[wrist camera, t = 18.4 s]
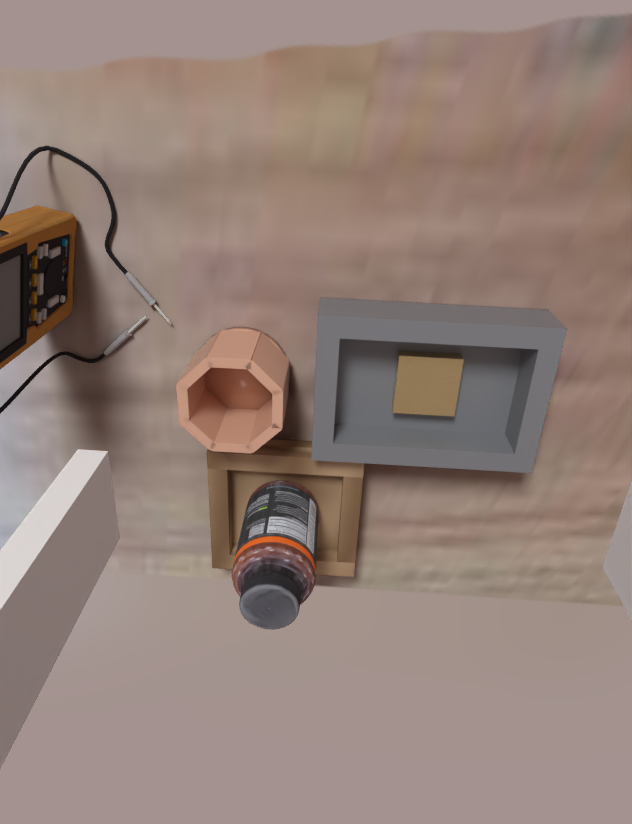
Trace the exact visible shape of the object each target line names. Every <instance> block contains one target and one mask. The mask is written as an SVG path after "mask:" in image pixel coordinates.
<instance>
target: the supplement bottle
mask: <svg viewBox="0 0 632 824" xmlns="http://www.w3.org/2000/svg"><path fill="white" fill-rule="evenodd" d="M318 523H319V513H318V505H317V502H316V500H315V498H314V496H313V495H312V493H311V492H310V491H309V490H308V489H306V488H305V487H304V486H302V485H300V484H298V483H295V482H292V481H287V480H276V481H271V482H267V483H265V484H263V485H261V486H260V487H258V488H257V489H256V490H255V491H254V492H253V493H252V495H251V496H250V498H249V501H248V504H247V507H246V511H245V515H244V520H243V524H242V529H241V533H240V537H239V541H238V546H237V550H236V554H235V559H234V563H233V569H232V581H233V585H234V588H235V589H236V591H237V593H238V594H239V596H240V603H239V605H240V611H241V613H242V615H243V617H244V618H245V619H246V620H247V621H248V622H249V623H251V624H253V625H255V626H257V627H260V628H264V629H279V628H283V627H285V626H287V625H289V624H291V623H292V622H293V621H294V620H295V619H296V617H297V615H298V612H299V607H300V604H302V603H303V602H304V601H305V600H306V599H307V598H308V597H309V595H310V594H311V592H312V590H313V588H314V584H315V574H316V560H317V559H316V557H317V537H318Z"/></svg>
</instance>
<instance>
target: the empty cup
mask: <svg viewBox="0 0 632 824" xmlns="http://www.w3.org/2000/svg"><path fill="white" fill-rule="evenodd" d="M289 364H290V361H289V359H288V358H287V356H286V354H285V352H284V351H283V349H282V348H281V346H280V345H279V344H278V343H277V342H276V341H275V340H274V339H273V338H271V337H270V336H269V335H267V334H265V333H263V332H261V331H259V330H256V329H252V328H247V327H233V328H228V329H225V330H220V331H219V332H218V333H216V334H215V335H213V336H212V337H211V338H210V339H209V340H208V341H207V342H206V343H205V344H204V346H203V347H202V348H201V349H200V350H199V351H197V352H196V353H195V354H194V356H193V358H192V359H191V361H190V363H189V364H188V366H187V368H186V369H185V371H184V373H183V374H182V376H181V378H180V379H179V381H178V383H177V385H176V386H177V401H178V415H179V423H180V425H181V426H183V427H184V428H185V429H186V430H187V431H188V432H189V433H191V434H192V435H193V436H194V437H195V438H196V439H197V440H198V441H200V442H201V443H202V444H203V445H204V446H205V447H206V448H207V449H209V450H211V451H217V452H234V453H251V454H252V453H254V452H255V451H256V450H257V449H259V448H260V447H261V446H262V445H264V444H265V443H266V442H267V441H269V440H270V439H271V438H272V437H273V436H275V435H276V434H277V433H278V432H280V431H281V430H282V428H283V423H284V417H285V412H286V407H287V402H288V396H289V379H290V367H289Z"/></svg>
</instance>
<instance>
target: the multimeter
mask: <svg viewBox="0 0 632 824" xmlns="http://www.w3.org/2000/svg"><path fill="white" fill-rule="evenodd" d="M46 150H50V151H54V152H57V153H59V154H61V155H63V156H66V157H68V158H70V159H71V160H73V161H75V162H77V163H78V164H80V165H82V166H83V167H85V168H86V169H87V170H89V171H90V172H91V173H92V174H93V175H94V176H95V177H96V178H97V179H98V180H99V181H100V183H101V184H102V186H103V188H104V190H105V192H106V194H107V197H108V200H109V204H110V207H111V212H112V219H111V225H110V228H109V230H108V233H107V236H106V240H105V248H106V251H107V253H108V255H109V256H110V257H111V259H112V260H113V261H114V262H115V264H116V265H117V266H118V267H119V268H120V269H121V270H122V271H123V272H124V274H125V276H126V277H127V279H128V280H129V282H130V283H131V284H132V285H133V286H134V287H135V288H136V290H137V291H138V292H139V293H140V294H141V295H142V296H143V298H144V299H145V300H146V301H147V302H148V303H149V306H151V305H153V306H154V307H155V308H156V309H157V311H158V312H159V313H160V314H161V315H162V316H163V317H164V319H165V320H166V321H167V322H168V323H170V324H171V322H170V320H169V319H168V318H167V317H166V316H165V314H164V313H163V312H162V311H161V310H160V309H159V308H158V306H157V305H156V304H155V302H156V300H154V299H153V298H152V297H151V295H150V294H149V293H148V292H147V291H146V290H145V288H144V287H143V286H142V285H141V284H140V283H139V282H138V280H137V279H136V278H135V277H134V276H133V275H132V274H131V273H130V272H128V271H127V270H126V269H125V268H124V267H123V266H122V265H121V264H120V263H119V261H118V260H117V259H116V258H115V257H114V255H113V254H112V252H111V251H110V249H109V240H110V236H111V234H112V231H113V228H114V225H115V219H116V218H115V208H114V203H113V200H112V197H111V194H110V191H109V189H108V187H107V185H106V183H105V182H104V180H103V179H102V178H101V176H100V175H99V174H98V173H97V172H96V171H95V170H93V169H92V168H91V167H90V166H88V165H87V164H85V163H84V162H82V161H81V160H79V159H77V158H76V157H74V156H72V155H70V154H68V153H66V152H64V151H62V150H60V149H58V148H54V147H50V146H44V147H38V148H37V149H35V150H34V151H32V152H31V153H30V154H29V155H28V157H27V158H26V159H25V160H24V162H23V164H22V165H21V167H20V169H19V171H18V173H17V175H16V177H15V179H14V182H13V184H12V186H11V189H10V191H9V193H8V196H7V198H6V201H5V203H4V205H3V207H2V209H1V211H0V369H1V368H2V367H4V366H5V365H6V364H8V363H9V362H10V361H12V360H13V359H14V358H15V357H17V356H18V355H19V354H21V353H22V352H23V351H24V350H26V349H27V348H28V347H30V346H31V345H32V344H34V343H35V342H36V341H37V340H39V339H40V338H41V337H42V336H44V335H45V334H46V333H47V332H49V331H50V330H51V329H52V328H53V327H55V326H56V325H57V324H59V323H60V322H61V321H62V320H64V319H65V318H66V317H67V316H69V315H70V314H71V312H72V309H73V277H74V254H75V233H76V218H75V216H74V215H73V214H70V213H66V212H62V211H57V210H53V209H49V208H45V207H41V206H37V205H36V206H34V207H32V208H28V209H25V210H22V211H18V212H15V213H12V214H8V215H6V216H4V214H5V212H6V210H7V208H8V206H9V203H10V201H11V198H12V196H13V194H14V191H15V189H16V186H17V184H18V181H19V179H20V177H21V175H22V173H23V171H24V169H25V168H26V166H27V164H28V163H29V161H30V160H31V159H32V158H33V157H34V156H35V155H36V154H38V153H39V152H41V151H46ZM146 317H147V316H145V317H144V318H142V319H141V320H140V321H139V322H138V323H136V324H135V325H134V326H133V327H132V328H131V329H130V330H128V329H125V332H124V333H122V334H121V335H120V336H119V337H118V338H117V339H116V340H115V341H114V342H113V343H111V344H110V345H109V346H108V347H107V348H106V350H105V351H104V353H103V354H102V355H101V356H99V357H98V358H96V359H93V360H92V359H85V358H82V357H79V356H77V355H75V354H72V353H70V352H66V351H65V352H60V353H58V354H56V355H54V356H52V357H51V358H50V359H48V360H47V361H46V362H44V363H43V364H42V365H41V366H40V367H39V368H38V369H37V370H36V371H35V372H34V373H33V374H32V375H31V376H30V377H29V378H28V379H27V380H26V381H25V382H24V383H23V384H22V386H21V387H20V388H19V389H18V390H17V391H16V392H15V393H14V394H13V395H12V396H11V397H10V398H9V399H8V401H7V402H6V403H5V404H4V405H3V406H2V407H1V408H0V413H1V412H2V411H3V410H4V409H5V408H6V407H7V406H8V405H9V404H10V403H11V402H12V401H13V400H14V399H15V398H16V397H17V396H18V395H19V394H20V392H21V391H22V390H23V389H24V388H25V387H26V386H27V385H28V384H29V383H30V382H31V380H32V379H33V378H34V377H35V376H36V375H37V374H38V373H39V372H40V371H41V370H42V369H43V368H44V367H45V366H46V365H47V364H49V363H50V362H51V361H52V360H54V359H55V358H57V357H59V356H61V355H68V356H71V357H73V358H75V359H78V360H81V361H84V362H88V363H94V362H97V361H99V360H101V359H102V358H103V357H105V356H106V355H108V354H110V353H111V352H113V351H114V350H115V349H116V348H117V347H118V346H119V345H120V344H122V343H123V342H124V341H125V340H126V339H127V338H128V337H129V336H132V333H131V332H132V331H133V330H134V329H135V328H136V327H137V326H138V325H139V324H141V323H142V322H143V321H144V320H145V318H146ZM171 325H172V324H171Z"/></svg>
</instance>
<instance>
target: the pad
mask: <svg viewBox="0 0 632 824" xmlns="http://www.w3.org/2000/svg"><path fill="white" fill-rule="evenodd" d="M463 362H464V358H463V356H462V354H452V353H433V352H415V351H398V356H397V365H396V374H395V383H394V392H393V400H392V411H393V413H403V414H420V415H437V416H454V415H455V409H456V403H457V398H458V392H459V386H460V380H461V374H462V368H463Z"/></svg>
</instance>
